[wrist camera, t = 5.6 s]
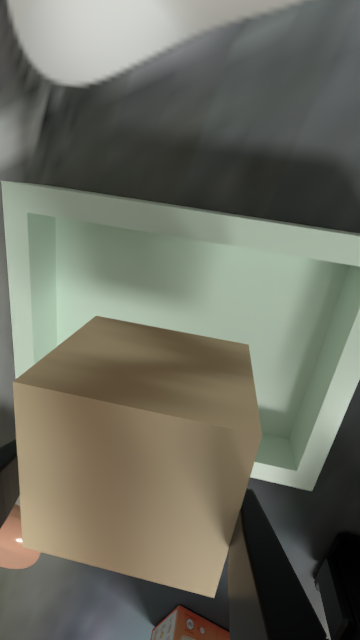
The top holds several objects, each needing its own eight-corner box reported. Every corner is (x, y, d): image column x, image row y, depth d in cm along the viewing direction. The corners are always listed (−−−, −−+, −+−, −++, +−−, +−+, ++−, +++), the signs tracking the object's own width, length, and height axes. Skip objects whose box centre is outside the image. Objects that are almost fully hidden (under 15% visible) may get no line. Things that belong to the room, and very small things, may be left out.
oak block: (248, 344, 12) (262, 435, 7) (218, 465, 14) (214, 598, 9) (96, 315, 12) (12, 381, 7) (90, 436, 14) (22, 547, 10)
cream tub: (75, 458, 25) (37, 521, 20) (74, 510, 27) (40, 577, 22) (5, 442, 25) (-48, 499, 20) (10, 494, 27) (-37, 556, 23)
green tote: (377, 236, 16) (416, 244, 12) (299, 446, 21) (312, 491, 18) (44, 184, 17) (1, 180, 14) (49, 392, 22) (18, 424, 19)
